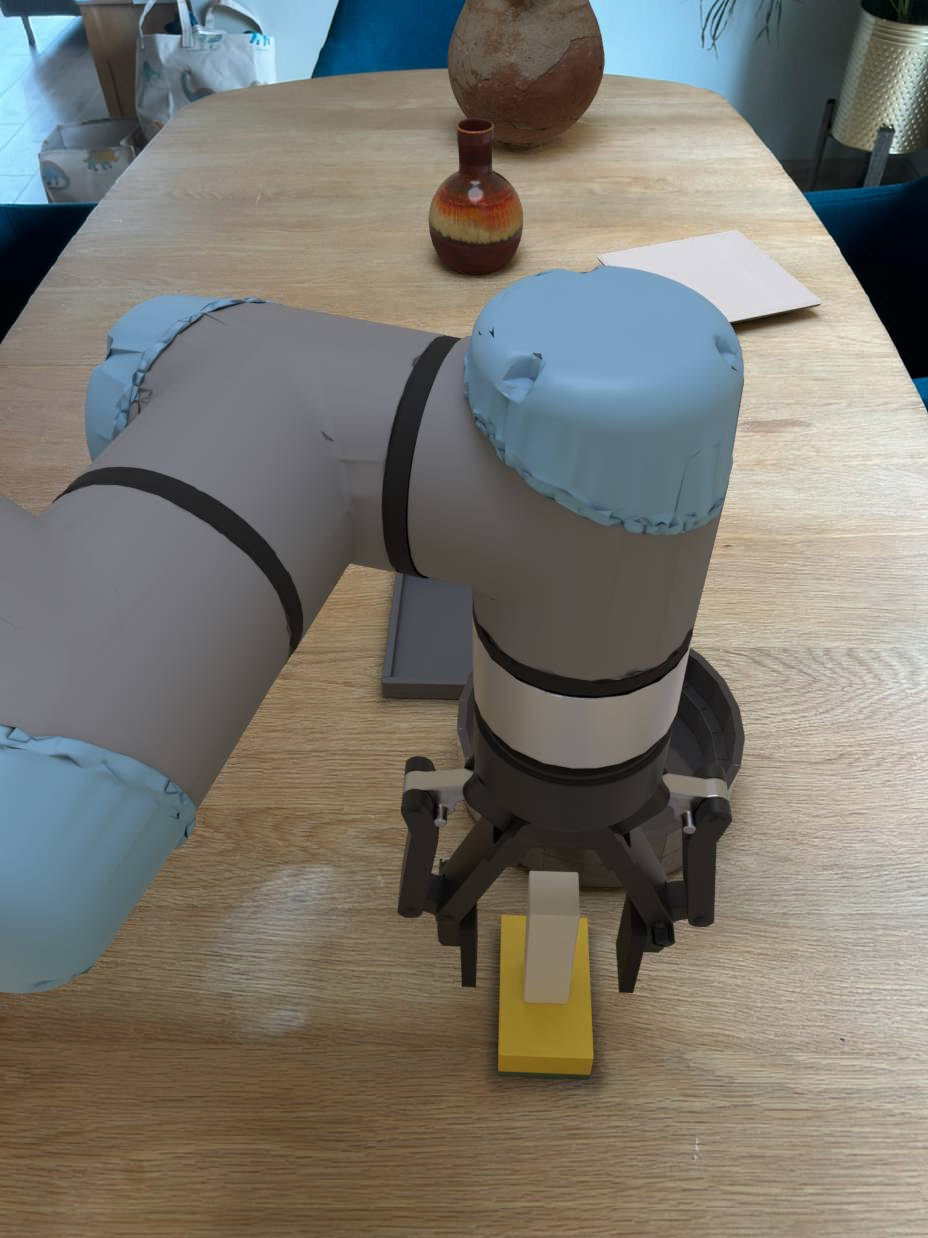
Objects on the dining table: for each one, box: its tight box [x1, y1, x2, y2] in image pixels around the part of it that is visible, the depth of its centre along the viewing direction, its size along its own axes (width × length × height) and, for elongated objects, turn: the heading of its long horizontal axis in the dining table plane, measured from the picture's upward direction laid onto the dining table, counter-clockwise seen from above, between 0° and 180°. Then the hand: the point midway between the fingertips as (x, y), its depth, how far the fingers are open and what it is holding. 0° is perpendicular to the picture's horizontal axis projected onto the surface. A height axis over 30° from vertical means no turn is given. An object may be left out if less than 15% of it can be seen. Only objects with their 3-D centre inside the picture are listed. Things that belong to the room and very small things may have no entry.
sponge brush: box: [497, 870, 595, 1080], centre depth 53 cm, size 8×5×13 cm, turn 177°
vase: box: [428, 118, 524, 275], centre depth 115 cm, size 11×11×15 cm
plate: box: [596, 229, 824, 325], centre depth 113 cm, size 19×19×2 cm
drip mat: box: [381, 573, 473, 700], centre depth 77 cm, size 13×10×2 cm
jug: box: [447, 0, 606, 152], centre depth 135 cm, size 22×22×30 cm
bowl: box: [456, 647, 746, 888], centre depth 66 cm, size 18×18×6 cm
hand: (546, 965), depth 54 cm, fingers open, 8 cm apart
